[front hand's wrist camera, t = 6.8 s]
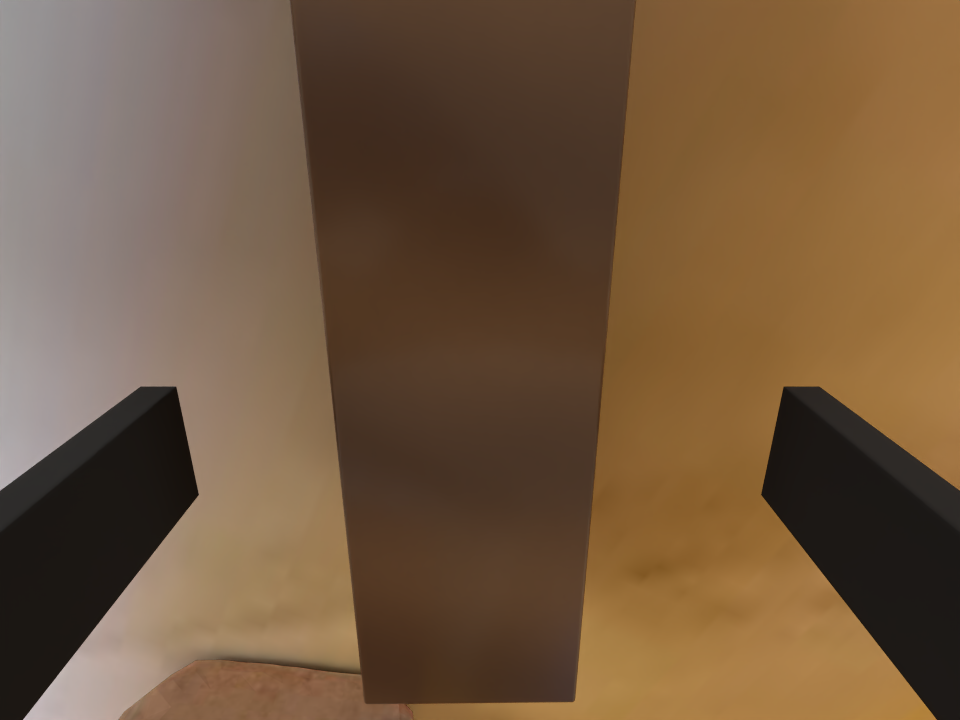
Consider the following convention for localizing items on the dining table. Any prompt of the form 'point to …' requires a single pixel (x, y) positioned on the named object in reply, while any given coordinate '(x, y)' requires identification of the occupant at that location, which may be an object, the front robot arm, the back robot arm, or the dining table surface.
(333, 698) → the stone
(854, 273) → the dining table surface
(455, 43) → the beam
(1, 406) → the dining table surface
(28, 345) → the dining table surface
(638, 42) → the dining table surface
